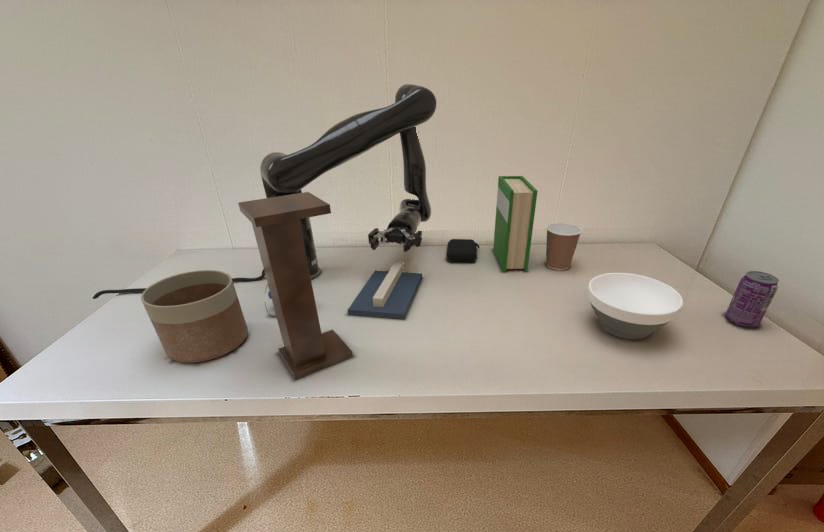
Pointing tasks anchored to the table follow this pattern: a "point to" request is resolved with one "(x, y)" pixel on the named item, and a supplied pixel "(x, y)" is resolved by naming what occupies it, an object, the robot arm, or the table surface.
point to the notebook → (396, 301)
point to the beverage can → (752, 298)
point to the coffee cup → (561, 244)
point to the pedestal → (293, 280)
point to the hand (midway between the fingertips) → (389, 247)
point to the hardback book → (514, 222)
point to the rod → (388, 284)
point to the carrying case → (462, 250)
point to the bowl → (632, 304)
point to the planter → (196, 315)
